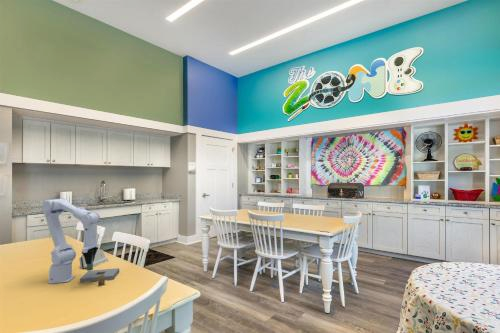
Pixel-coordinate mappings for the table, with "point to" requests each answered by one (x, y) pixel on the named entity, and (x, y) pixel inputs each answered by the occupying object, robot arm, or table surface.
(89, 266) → the long pin
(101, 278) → the short pin
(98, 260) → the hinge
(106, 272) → the hole plate
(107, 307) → the table surface
